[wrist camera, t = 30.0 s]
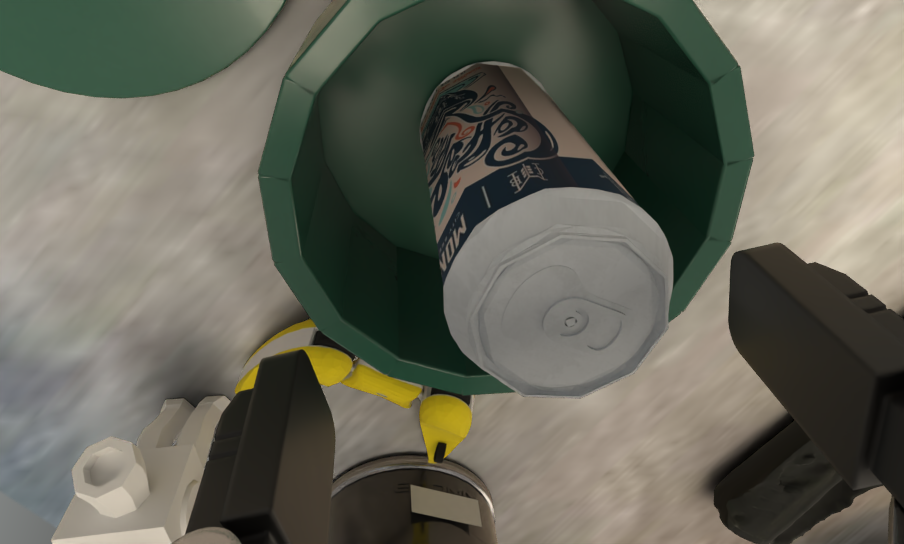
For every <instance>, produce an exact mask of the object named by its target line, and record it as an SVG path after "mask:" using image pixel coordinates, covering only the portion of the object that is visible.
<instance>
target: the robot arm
mask: <svg viewBox="0 0 904 544" xmlns="http://www.w3.org/2000/svg"><path fill="white" fill-rule="evenodd" d="M728 322H729V329H730V333H731V337H732V340H733V342H734V344H735V346H736V348H737V350H738V351H739V353H740V354H741V355H742V357H743V358H744V359H745V360H746V361H747V363H748V364H749V365H750V366H751V367H752V369H753V370H754V371H755V372H756V374H757V375H758V376H759V377H760V378H761V380H762V381H763V382H764V383H765V384H766V386H767V387H768V388H769V389H770V391H771V392H772V393H773V394H774V395H775V397H776V398H777V399H778V400H779V401H780V403H781V404H782V405H783V406H784V407H785V409H786V410H787V411H788V412H789V414H790V415H791V416H792V417H793V418H794V420H795V421H796V422H797V423H798V424H799V426H800V427H801V428H802V429H803V431H804V432H805V433H806V434H807V435H808V437H809V438H810V439H811V440H812V441H813V443H814V444H815V445H816V446H817V448H818V449H819V450H820V451H821V452H822V454H823V455H824V456H825V457H826V458H827V460H828V461H829V462H830V463H831V465H832V466H833V467H834V468H835V469H836V471H837V472H838V473H839V474H840V475H841V477H842V478H843V479H844V480H845V481H846V483H847V484H848V485H849V486H850V488H851V489H852V490H857V489H862V488H866V487H871V486H875V485H880V484H883V485H884V486H885V487H886V488H887V490H888V491H889V492H890V493H891V494H892V498H891V502H890V507H889V523H888V544H904V319H903V318H901V317H900V316H899V315H898V314H896V313H895V312H894V311H892V310H891V309H888V310H887V309H886V305H885V304H883V303H882V302H881V301H879V300H878V299H877V298H876V297H874V296H873V295H868V293H867V290H865V289H864V288H863V287H861V286H860V285H859V284H857V283H856V282H855V281H854V280H852V279H851V278H850V277H848V276H847V275H846V274H844V273H841V272H839V271H836V270H834V269H831V268H829V267H826V266H824V265H821V264H819V263H816V262H814V263H809V264H807V263H805V262H804V261H803V260H802V259H801V258H799V257H798V256H797V255H796V254H794V253H793V252H792V251H791V250H790V249H788V248H787V247H786V246H785V245H783V244H781V243H773V244H768V245H764V246H760V247H755V248H751V249H746V250H742V251H738V252H735V253H734V254H733V256H732V259H731V268H730V292H729V316H728ZM334 454H335V429H334V423H333V418H332V414H331V411H330V408H329V406H328V403H327V401H326V398H325V396H324V393H323V391H322V388H321V386H320V383H319V381H318V379H317V376H316V374H315V371H314V369H313V366H312V364H311V361H310V359H309V357H308V355H307V353H306V352H305V351H304V350H303V349H300V350H296V351H291V352H287V353H283V354H278V355H274V356H269V357H265V358H262V359H261V361H260V364H259V368H258V372H257V376H256V380H255V384H254V388H252V389H247V390H243V391H239V392H238V393H237V394H236V396H235V397H234V398H233V400H232V401H231V402H230V403H229V405H228V406H227V407H226V409H225V410H224V411H223V413H222V414H221V417H220V420H219V424H218V427H217V430H216V434H215V442H213V443H212V447H211V450H210V453H209V461H207V463H206V466H205V470H204V473H203V476H202V480H201V483H200V486H199V489H198V493H197V496H196V499H195V503H194V506H193V509H192V512H191V516H190V519H189V522H188V526H187V529H186V532H185V535H184V536H182V537H180V538H178V539H177V540H175V541H174V542H172V543H171V544H498V542H497V536H496V530H495V514H494V508H493V502H492V498H491V495H490V493H489V491H488V489H487V487H486V486H485V485H484V483H483V482H482V481H481V480H480V479H479V478H478V477H477V476H476V475H475V474H473V473H472V472H470V471H469V470H467V469H466V468H464V467H462V466H460V465H458V464H455V463H453V462H450V461H447V460H443V462H442V463H435V464H433V463H429V462H428V456H415V455H408V456H395V457H388V458H383V459H379V460H375V461H372V462H369V463H366V464H363V465H361V466H358V467H356V468H354V469H352V470H350V471H349V472H347V473H345V474H344V475H342V476H341V477H340V478H338V479H337V480H336V481H335V482H334V483H333V484H332V481H333V467H334Z"/></svg>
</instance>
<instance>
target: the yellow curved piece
mask: <svg viewBox="0 0 904 544" xmlns="http://www.w3.org/2000/svg"><path fill="white" fill-rule="evenodd" d="M300 349H303V350H304V351H305V352H306V353H307V355H308V357H309V359H310V361H311V364H312V366H313V369H314V371H315V374H316V376H317V379H318V381H319V383H320V384H322V385H325V386H328V387H329V386H331V385H334V384H336V383H338V382H341V383H342V384H344V385H346V386H348V387H351V388H355V389H358V390H361V391H364V392H367V393H371V394H374V395H377V396H380V397H382V398H385V399H387V400H389V401H391V402H393V403H396V404H398V405H399V406H401V407H403V408H410V407H411V405H412V400H414V399H415V398H418V399H419V400H420V403H421V404H420V412H419V418H420V425H421V429H422V433H423V437H424V441H425V445H426V449H427V453H428V462H429V463H433V464H435V463H442V462H443V459H444V458H445V457H446V456H447V455H448V454H449V453H451V451H452V450H453V449H454V448H455V447H456V446H457V445H458V444H459V443H460V442H461V441H462V440H463V439H464V438H465V437H466V435H467V434H468V432H469V429H470V426H471V421H472V413H473V404H474V395H462V394H456V393H452V392H448V391H444V390H440V389H436V388H432V387H428V386H424V387H423V391H422V386H423V385H420V384H416V383H412V382H408V381H404V380H400V379H396V378H392V377H388V376H387V374H386V375H384V374H382V373H381V372H379V371H378V370H376V369H375V368H373V367H372V366H370V365H369V364H367V363H366V362H364V361H363V360H361V359H360V358H358V359H357V360H355V361H353V360H354V358H355V355H354V354H352V353H351V352H349V351H348V350H346V349H345V348H343V347H342V346H340V345H339V344H337V343H336V342H334V341H333V340H332V339H330V338H329V337H327V336H326V335H324V334H323V333H322V332H321V331H319V330H318V328H317V327H316V326H315V324H314V323H313V321H312V320H311V319H308V320H307V321H304V322H300V323H297V324H294V325H292V326H290V327H288V328H286V329H284V330H283V331H281V332H280V333H278V334H276V335H275V336H273V337H272V338H270V339H269V340H268V341H267V342H266V343H264V344H263V345H262V346H261V347H260V348H259V349H258V350H257V351H256V352H255V353H254V354H253V355H252V356H251V357H250V358H249V360H248V361H247V363H246V364H245V366H244V367H243V370H242V373H241V375H240V378H239V380H238V383H237V386H236V388H235V393H236V394H237V393H238V392H239V391H243V390H247V389H252V388H254V384H255V380H256V376H257V372H258V368H259V364H260V361H261V359H262V358H265V357H269V356H274V355H278V354H283V353H287V352H291V351H296V350H300Z"/></svg>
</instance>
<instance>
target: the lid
mask: <svg viewBox="0 0 904 544" xmlns="http://www.w3.org/2000/svg"><path fill="white" fill-rule="evenodd" d="M286 2H287V0H0V70H1V71H3V72H5V73H8V74H11V75H13V76H16V77H18V78H21V79H23V80H26V81H28V82H31V83H33V84H37V85H41V86H44V87H48V88H51V89H55V90H59V91H62V92H66V93H72V94H79V95H85V96H91V97H104V98H134V97H146V96H154V95H159V94H163V93H168V92H172V91H176V90H180V89H183V88H185V87H188V86H191V85H193V84H196V83H198V82H201V81H204V80H205V79H207V78H209V77H211V76H213V75H214V74H216V73H218V72H220V71H222V70H223V69H225V68H227V67H228V66H229V65H231V64H232V63H233V62H235V61H236V60H237V59H238V58H240V57H241V56H242V55H243V54H245V53H246V52H247V51H248V50H249V49H250V48H251V47H252V46H253V45H254V44H255V43H256V42H257V41H258V40H259V39H260V38H261V37H262V36H263V35H264V33H265V32H266V31H267V30H268V29H269V28H270V26H271V25H272V23H273V22H274V21H275V19H276V18H277V16H278V15H279V13H280V12H281V10H282V9H283V8H284V6H285V4H286Z"/></svg>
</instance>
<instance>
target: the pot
mask: <svg viewBox="0 0 904 544" xmlns="http://www.w3.org/2000/svg"><path fill="white" fill-rule="evenodd" d="M491 61H495V62H502V63H509V64H512V65H514V66H517V67H520V68H522V69H524V70H525V71H527V72H529V73H530V74H531V75H532V76H533V77H535V78H536V79H537V80H538V81H539V82H540V83H541V84H542V86H543V87H544V89H545V90H546V92H547V93H548V95H549V96H550V98H551V99H552V100H553V101H554V102H555V104H556V105H557V106H558V107H559V109H560V110H561V111H562V112H563V113H564V115H565V116H566V117H567V118H568V120H569V121H570V122H571V123H572V124H573V126H574V127H575V128H576V129H577V131H578V132H579V133H580V134H581V135H582V137H583V138H584V139H585V140H586V141H587V143H588V144H589V145H590V146H591V148H592V149H593V150H594V151H595V152H596V154H597V155H598V156H599V157H600V159H601V160H602V161H603V162H604V163H605V165H606V166H607V167H608V168H609V170H610V171H611V172H612V173H613V174H614V176H615V177H616V178H617V179H618V181H619V182H620V183H621V184H622V185H623V187H624V188H625V189H626V190H627V191H628V193H629V194H630V195H631V196H632V198H633V199H634V200H635V201H636V202H637V204H638V205H639V206H640V207H641V208H642V209H643V210H644V211H645V212H646V213H647V214H648V215H649V216H650V217H652V218H653V219H654V220H655V221H656V222H657V223H658V225H659V227H660V228H661V230H662V232H663V233H664V235H665V237H666V239H667V242H668V245H669V247H670V250H671V253H672V257H673V289H672V294H671V299H670V303H669V313H668V323H669V322H670V321H671V320H673V319H674V318H675V317H677V316H678V315H679V314H680V313H681V311H682V312H683V311H684V310H685V309H686V307H687V306H688V305H689V303H690V302H691V300H692V299H693V297H694V296H695V295H696V293H697V292H698V290H699V289H700V287H701V286H702V285H703V283H704V282H705V280H706V279H707V277H708V276H709V275H710V273H711V272H712V270H713V269H714V267H715V266H716V265H717V263H718V262H719V260H720V259H721V257H722V256H723V255H724V253H725V252H726V250H727V249H728V247H729V246H730V245H731V242H730V241H731V240H732V238H733V234H734V230H735V227H736V223H737V219H738V215H739V211H740V208H741V204H742V200H743V196H744V192H745V188H746V185H747V181H748V177H749V173H750V169H751V165H752V162H753V158H752V157H754V151H753V144H752V138H751V132H750V125H749V119H748V113H747V106H746V100H745V93H744V87H743V81H742V74H741V68H740V66H739V65H738V63H737V61H736V59H735V58H734V57H733V55H732V54H731V53H730V51H729V50H728V48H727V47H726V46H725V44H724V43H723V41H722V40H721V39H720V37H719V36H718V34H717V33H716V32H715V30H714V29H713V28H712V26H711V25H710V23H709V22H708V21H707V19H706V18H705V16H704V15H703V14H702V12H701V11H700V9H699V8H698V7H697V5H696V4H695V3H694V1H693V0H333V1H332V2H331V4H330V5H329V6H328V7H327V8H326V10H325V11H324V12H323V13H322V14H321V16H320V17H319V18H318V19H317V20H316V22H315V23H314V25H313V27H312V29H311V30H310V32H309V34H308V36H307V37H306V39H305V41H304V43H303V44H302V46H301V48H300V50H299V51H298V53H297V55H296V56H295V58H294V60H293V62H292V63H291V65H290V67H289V69H288V70H287V72H286V74H285V76H284V78H283V80H282V84H281V88H280V91H279V95H278V99H277V103H276V106H275V110H274V114H273V117H272V121H271V125H270V128H269V132H268V136H267V139H266V143H265V147H264V151H263V154H262V158H261V162H260V165H259V169H258V174H259V175H258V180H259V185H260V191H261V197H262V203H263V208H264V214H265V220H266V225H267V231H268V237H269V243H270V248H271V254H272V259H273V261H274V265H275V267H276V268H277V269H278V271H279V272H280V274H281V275H282V277H283V278H284V280H285V281H286V283H287V284H288V286H289V287H290V289H291V290H292V292H293V293H294V295H295V296H296V298H297V299H298V300H299V302H300V303H301V305H302V306H303V308H304V309H305V311H306V312H307V314H308V315H309V317H310V318H311V320H312V321H313V323H314V324H315V326H316V327H317V328H318V330H319V331H321V332H322V333H323V334H324V335H326V336H327V337H329V338H330V339H332V340H333V341H334V342H336V343H337V344H339V345H340V346H342V347H343V348H345V349H346V350H348V351H349V352H351V353H352V354H354V355H355V356H357V357H358V358H360V359H361V360H363V361H364V362H366V363H367V364H369V365H370V366H372V367H373V368H375V369H376V370H378V371H379V372H381V373H382V374H384V375H386V374H387V376H388V377H392V378H396V379H400V380H404V381H408V382H412V383H416V384H420V385H424V386H428V387H432V388H436V389H440V390H444V391H448V392H452V393H456V394H462V395H480V394H495V393H511V392H515V391H514V390H512V389H511V388H509V387H508V386H507V385H505V384H503V383H502V382H500V381H499V380H498V379H496V378H495V377H493V376H492V375H490V374H489V373H487V372H486V371H484V370H482V369H481V368H480V367H479V366H478V365H476V364H475V363H474V362H473V361H472V360H470V359H469V358H468V357H467V356H466V355H465V354H464V353H463V352H462V351H461V349H460V348H459V346H458V345H457V343H456V341H455V340H454V338H453V337H452V335H451V333H450V330H449V327H448V323H447V320H446V317H445V314H444V294H443V281H442V275H441V268H440V261H439V254H438V247H437V240H436V233H435V226H434V220H433V213H432V206H431V199H430V192H429V185H428V178H427V171H426V164H425V158H424V152H423V149H422V145H421V142H420V123H421V118H422V115H423V112H424V109H425V106H426V104H427V102H428V100H429V98H430V97H431V95H432V93H433V91H434V90H435V89H436V88H437V86H439V85H440V84H441V83H442V82H443V81H444V80H445V79H446V78H447V77H448V76H449V75H451V74H452V73H454V72H456V71H458V70H460V69H462V68H464V67H466V66H468V65H472V64H475V63H479V62H491Z"/></svg>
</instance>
